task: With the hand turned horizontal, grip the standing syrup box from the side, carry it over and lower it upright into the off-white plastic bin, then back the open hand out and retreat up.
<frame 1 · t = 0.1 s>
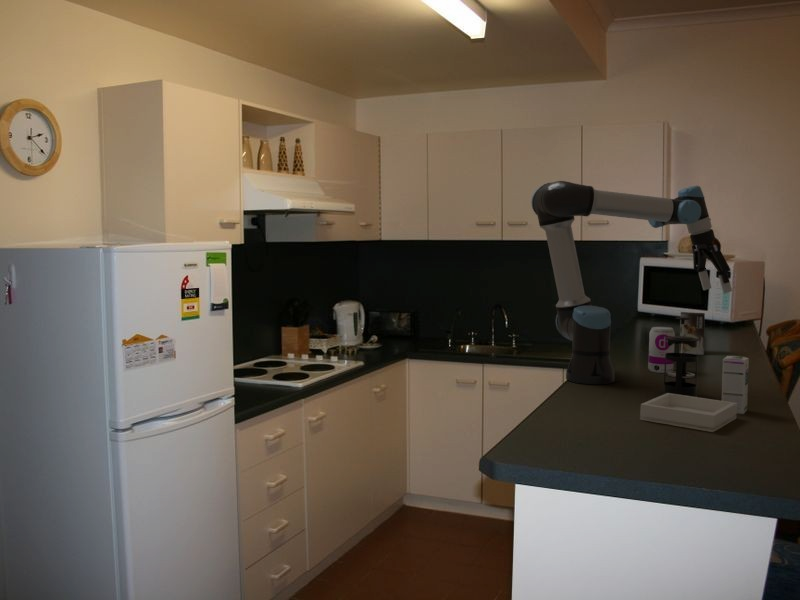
hand: (717, 290, 257), 28 cm above the worktop, tool tilted 20°, fingers open, 13 cm apart
supplement can: (660, 371, 258), on the worktop
french press: (679, 395, 220), on the worktop
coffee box: (691, 353, 298), on the worktop
syrup box: (733, 411, 201), on the worktop
bin: (688, 418, 192), on the worktop
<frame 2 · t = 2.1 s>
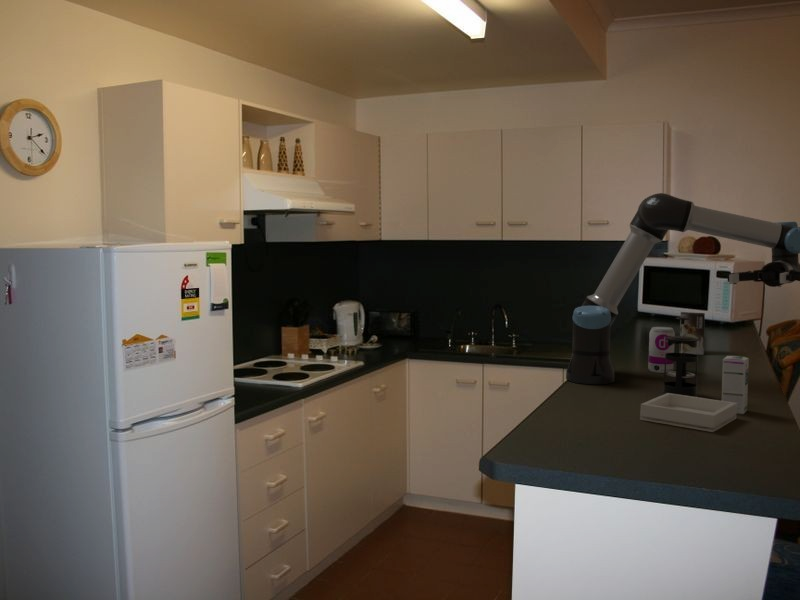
hand: (755, 278, 214), 34 cm above the worktop, tool horizontal, fingers open, 13 cm apart
nothing on the worktop moved.
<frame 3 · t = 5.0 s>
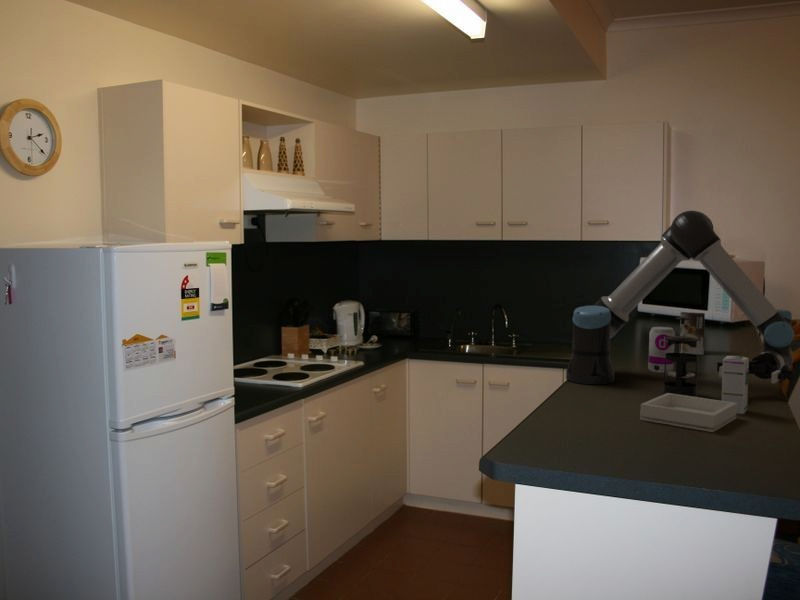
hand: (746, 375, 207), 8 cm above the worktop, tool horizontal, fingers open, 13 cm apart
nothing on the worktop moved.
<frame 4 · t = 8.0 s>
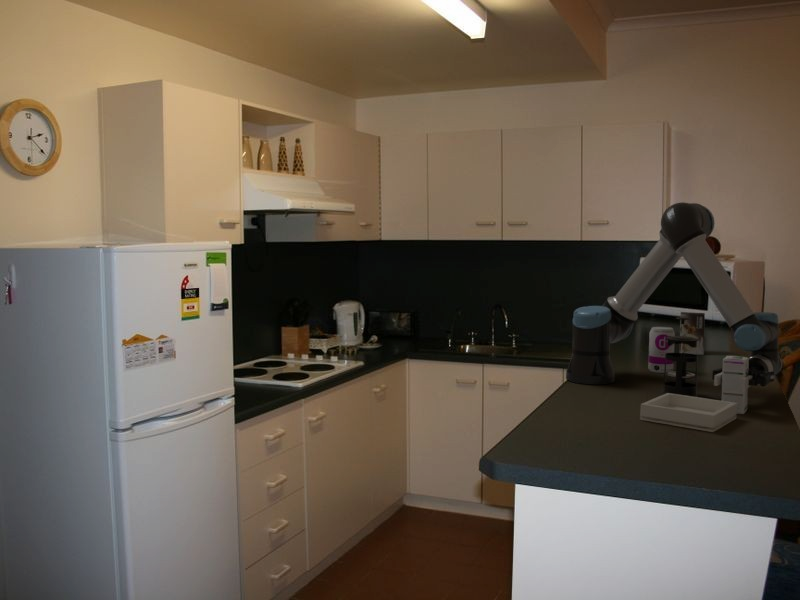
hand: (729, 382, 196), 9 cm above the worktop, tool horizontal, fingers closed on syrup box, 6 cm apart
syrup box: (733, 411, 201), on the worktop, touching gripper
everything else where it was.
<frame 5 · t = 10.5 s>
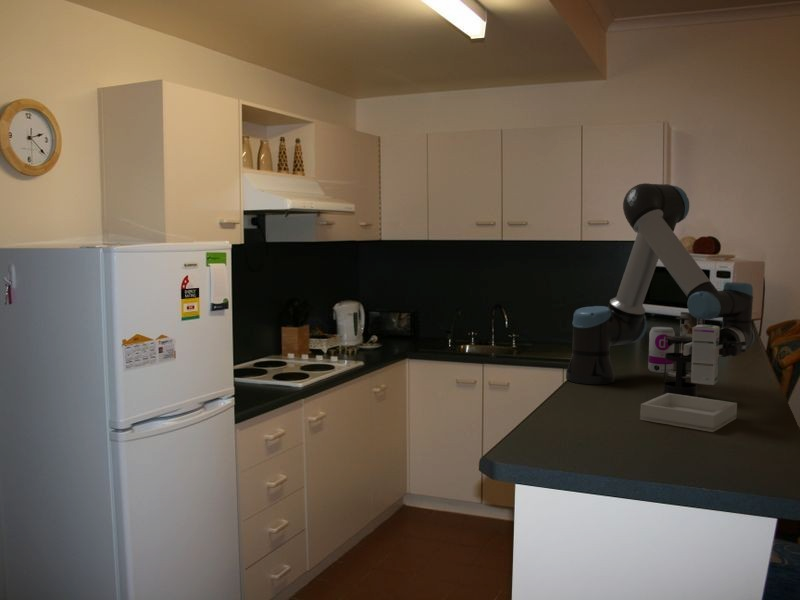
hand: (699, 351, 188), 18 cm above the worktop, tool horizontal, fingers closed on syrup box, 6 cm apart
syrup box: (703, 382, 192), point 9 cm above the worktop, touching gripper
everything else where it was.
when the fingers open (10 cm above the worktop, at t = 13.0 s): syrup box stays where it is, resting on bin.
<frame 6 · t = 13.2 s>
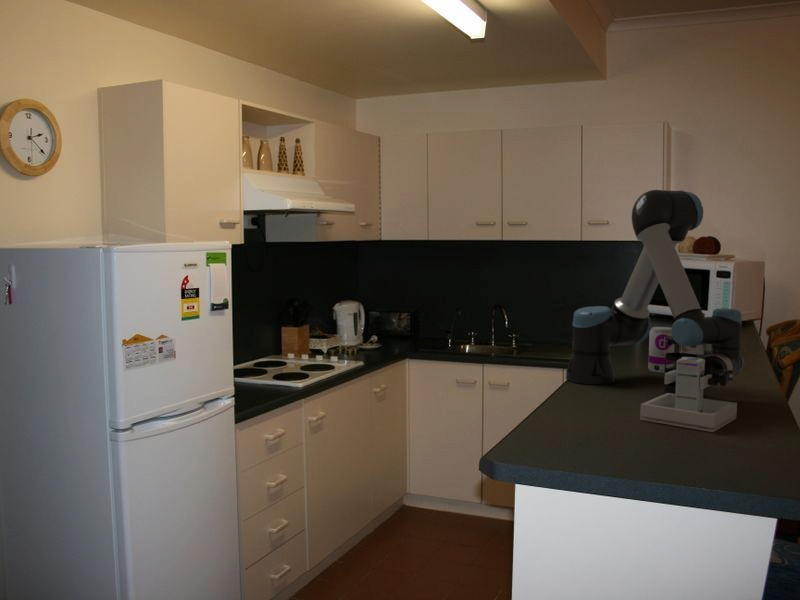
hand: (683, 381, 187), 10 cm above the worktop, tool horizontal, fingers open, 8 cm apart
syrup box: (688, 415, 192), point 1 cm above the worktop, touching bin
everything else where it was.
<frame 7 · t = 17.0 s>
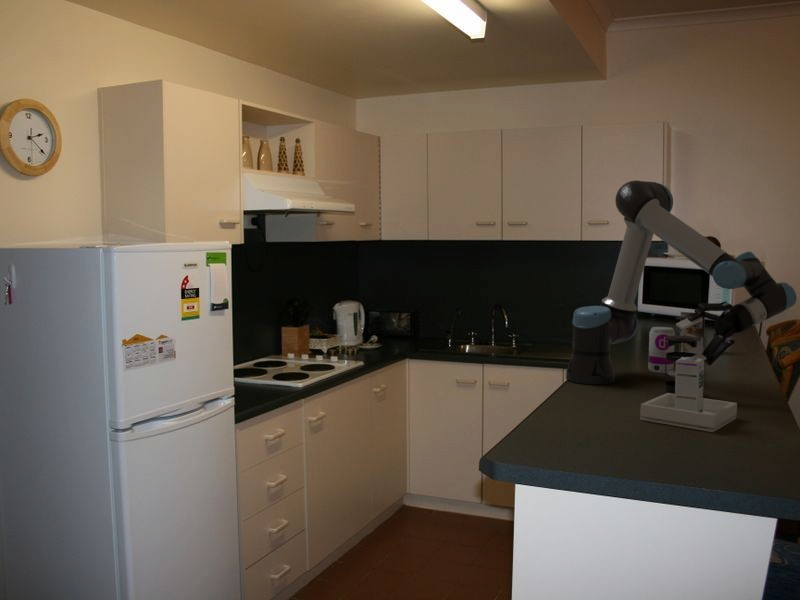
hand: (681, 346, 208), 16 cm above the worktop, tool tilted 65°, fingers open, 13 cm apart
nothing on the worktop moved.
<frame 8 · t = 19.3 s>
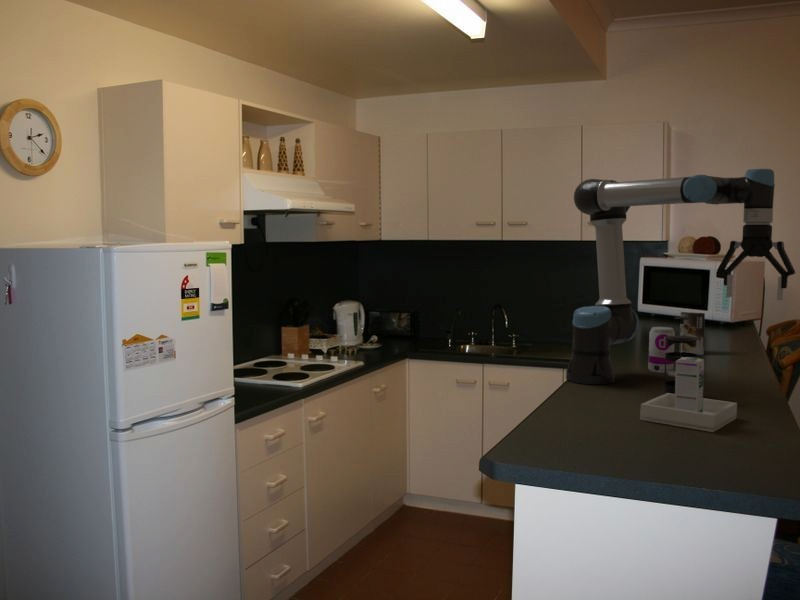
hand: (753, 298, 216), 29 cm above the worktop, tool pointing down, fingers open, 13 cm apart
nothing on the worktop moved.
at the end: syrup box inside the target area on the bin (0.1 cm from its centre), point 0.8 cm above the bin's base; syrup box tilted 0°; the gripper is holding nothing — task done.
